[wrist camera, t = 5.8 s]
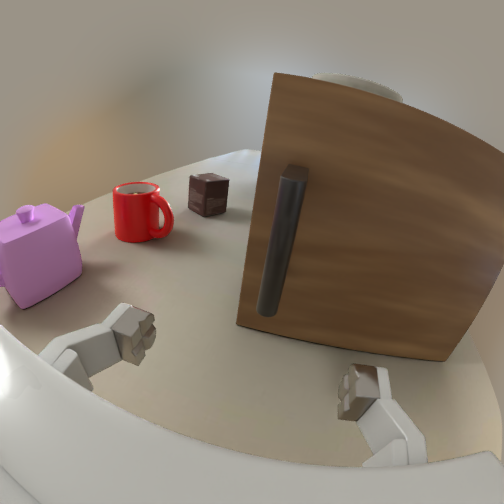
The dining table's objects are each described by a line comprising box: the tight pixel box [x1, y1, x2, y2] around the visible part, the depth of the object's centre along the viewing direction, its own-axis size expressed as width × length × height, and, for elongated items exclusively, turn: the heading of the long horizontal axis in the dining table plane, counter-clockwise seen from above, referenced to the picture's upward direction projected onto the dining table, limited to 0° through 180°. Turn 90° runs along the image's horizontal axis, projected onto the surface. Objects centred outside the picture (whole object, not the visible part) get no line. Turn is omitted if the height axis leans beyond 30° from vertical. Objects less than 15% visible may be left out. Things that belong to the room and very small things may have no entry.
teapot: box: [0, 203, 84, 309], centre depth 26 cm, size 18×10×10 cm, turn 155°
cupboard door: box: [236, 73, 504, 361], centre depth 19 cm, size 7×26×24 cm, turn 78°
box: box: [188, 173, 229, 217], centre depth 55 cm, size 6×6×7 cm
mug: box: [113, 182, 174, 243], centre depth 41 cm, size 8×12×8 cm, turn 69°
